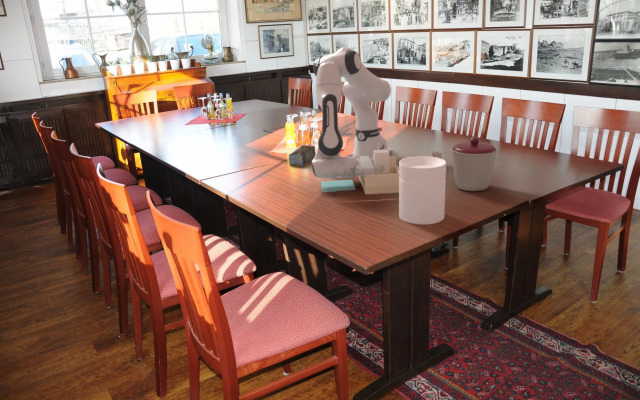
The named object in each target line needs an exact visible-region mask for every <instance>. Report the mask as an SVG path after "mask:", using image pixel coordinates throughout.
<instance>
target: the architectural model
mask: <svg viewBox="0 0 640 400" xmlns="http://www.w3.org/2000/svg"><path fill="white" fill-rule="evenodd" d="M431 154H432V157H437V158H441V159H442V152H438V151H435V150H433V151H432V152H431Z"/></svg>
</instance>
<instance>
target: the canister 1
mask: <svg viewBox="0 0 640 400" xmlns="http://www.w3.org/2000/svg"><path fill="white" fill-rule="evenodd" d="M398 162H399V163H398V165H399V166H398V171H399V193H398V217H399V219H400V220H401V221H403V222H404V223H408V224H414V225H433V224H437V223H440V222H441V221H443V220H444V219H445V212H446V211H445V210H446V209H445V208H446V206H445V205H446V182H447V181H446V179H447V178H446V174H447V161H446V160H445V159H443V158H442V157H441V158H437V157H433V156H426V155H424V156H422V155H421V156H416V155H415V156H410V157H404V158H402V159H400V160H399V161H398Z"/></svg>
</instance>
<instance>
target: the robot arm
mask: <svg viewBox="0 0 640 400" xmlns="http://www.w3.org/2000/svg"><path fill="white" fill-rule="evenodd" d="M312 66H313V67H312V68H313V69H312V70H313V73H314V75H315V77H316V80H315V82H316V83H315V91H316V92H315V93H316V100H317V105H319V107H320V108H321V114H322V119H321V120H322V129H321V133H320V135H319V137H318V141H317V144H318V146H317V149H316V151H315V157H314V158H313V159H312V160H311V161H310V162H311V163H310V164H311V168H312V172H313V173H312V174H313V175H314V176H315V177H316V178H317V179H324V180H325V179H336V178H342V179H344V178H347V179H348V178H355V177H358V178H359V177H365V175H374V174H375V172H379V171H384V170H385V167H384V166H379V167H374V166H373V164H374V159H370V158H371V157H373V150H388V151H389V153H391V152H392V148H390V147H388V143H387V142H388V141H387V140H386V139H385V138H384V137H383V136H382V135H381V132H382V131H383V127H382V126H381V127H380V126H379V121H378V119H379V118H378V117H379V116H378V115H379V114H378V112H377V110H376V109H374V108H373V107H372V106H371V105H370V103H369V102H373V103H374V102H375V103H379V102H384V101H387V100H388V99H390V96H391V92H392V87H391V85H390V82H389V81H387V80H385V79H382V78H380V77H378V76H377V75H375V74H374V73H372V72H371V71H370V70H369V69H367V67H366V66H365V65H364V64H363V62H362V60H361V56H360V55H359V53H358V52H357V51H356V50H353V49H351V48H350V47H346V46H343V47H340V48H338V49H337V50H336V51H335V52H334V53H330V54H326V55H322V56H319V57H317V58H315V60H314V62H313V65H312ZM342 78H343V79H344V81H345V82H344V83H342ZM342 93H343V96H344V97H345V99H346V100H347V101H348V102H349V103H350V104H351V105H352V106H351V107H352V108H353V110H354V114H355V131H354V132H355V137H354V140H353V151H351V154H348V155H346V156H340V153H341V151H342V150H343V147H344V141H343V138H342V135H341V133H340V130H339V121H338V120H339V118H338V116H339V115H338V109H339V107H340V104H341V101H342Z"/></svg>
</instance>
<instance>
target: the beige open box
mask: <svg viewBox="0 0 640 400" xmlns="http://www.w3.org/2000/svg"><path fill="white" fill-rule="evenodd" d="M370 159H374V158H373V157H371V158H370ZM373 166H374V164H373ZM358 178H359V181H360V184H361V187H362V188H363V192H364V194H365V195H377V194H378V195H380V194H399V168H397V156H396V155H394V156H393V155H392V156H391V155H389V174H374V175H365V177H359V176H358Z"/></svg>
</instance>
